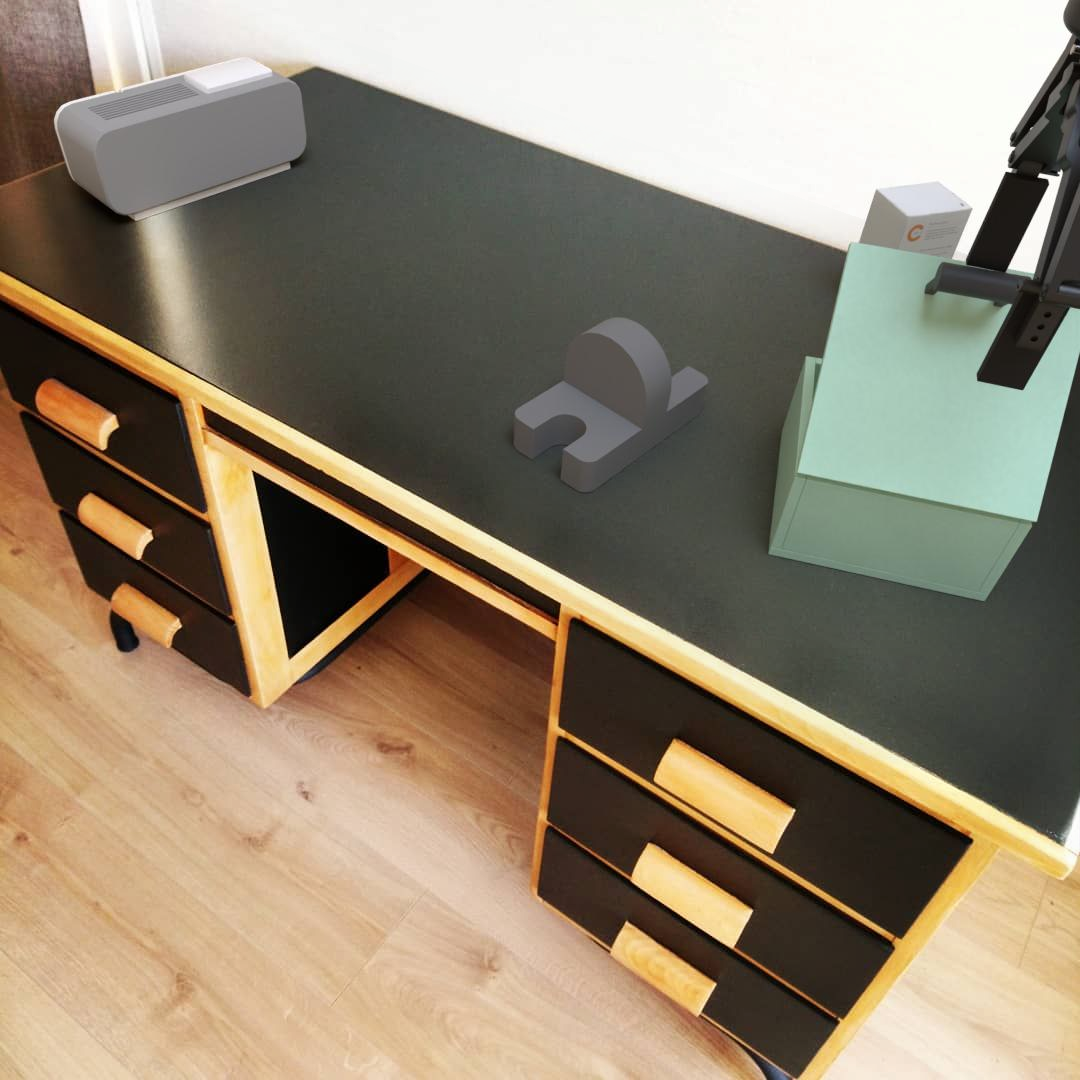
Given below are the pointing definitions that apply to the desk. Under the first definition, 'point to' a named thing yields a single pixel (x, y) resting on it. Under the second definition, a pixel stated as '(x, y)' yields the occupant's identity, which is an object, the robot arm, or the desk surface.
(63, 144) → the alarm clock
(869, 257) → the lid
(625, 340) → the bracket
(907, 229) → the small box
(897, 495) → the compartment
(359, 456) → the desk surface
